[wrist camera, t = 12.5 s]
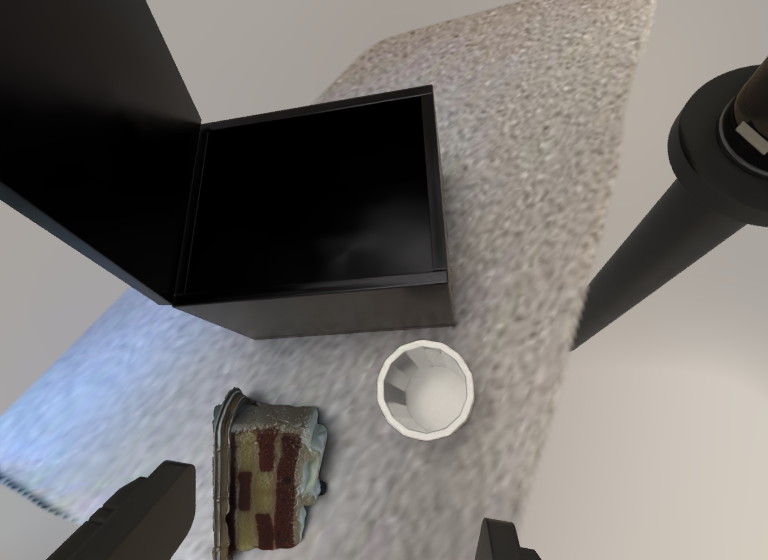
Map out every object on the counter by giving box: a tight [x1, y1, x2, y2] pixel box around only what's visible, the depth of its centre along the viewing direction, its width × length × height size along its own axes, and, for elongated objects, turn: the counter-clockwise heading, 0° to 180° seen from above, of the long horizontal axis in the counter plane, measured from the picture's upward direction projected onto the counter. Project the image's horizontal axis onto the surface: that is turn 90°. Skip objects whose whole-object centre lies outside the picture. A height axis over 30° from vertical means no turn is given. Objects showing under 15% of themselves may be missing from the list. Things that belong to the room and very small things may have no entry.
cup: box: [377, 339, 475, 441], centre depth 26 cm, size 5×5×8 cm
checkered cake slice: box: [212, 387, 327, 560], centre depth 29 cm, size 10×7×12 cm
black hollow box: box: [172, 85, 455, 340], centre depth 30 cm, size 17×14×10 cm
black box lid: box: [0, 0, 201, 305], centre depth 18 cm, size 17×14×5 cm
